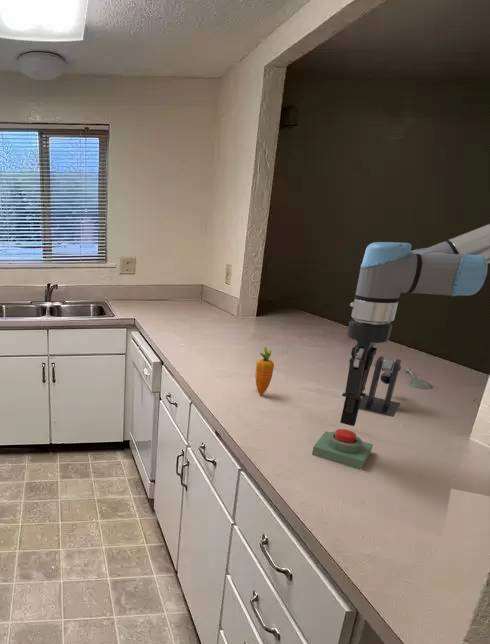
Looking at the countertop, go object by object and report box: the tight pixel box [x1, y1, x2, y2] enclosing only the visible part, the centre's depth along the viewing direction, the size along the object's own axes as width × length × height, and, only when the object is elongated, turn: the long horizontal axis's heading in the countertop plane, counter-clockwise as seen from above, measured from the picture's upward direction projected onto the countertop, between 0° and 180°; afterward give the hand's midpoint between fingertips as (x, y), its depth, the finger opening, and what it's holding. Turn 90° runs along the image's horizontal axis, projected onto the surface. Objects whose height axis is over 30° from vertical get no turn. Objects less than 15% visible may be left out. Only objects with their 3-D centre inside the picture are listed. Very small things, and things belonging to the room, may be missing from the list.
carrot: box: [255, 346, 275, 396], centre depth 131 cm, size 5×5×15 cm
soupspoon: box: [404, 366, 433, 390], centre depth 143 cm, size 22×3×7 cm
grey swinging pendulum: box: [380, 359, 395, 385], centre depth 123 cm, size 13×4×4 cm
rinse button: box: [335, 428, 357, 443], centre depth 99 cm, size 4×4×2 cm
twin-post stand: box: [359, 355, 402, 418], centre depth 120 cm, size 12×9×15 cm
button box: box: [311, 430, 374, 470], centre depth 100 cm, size 10×10×4 cm
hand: (347, 423), depth 98 cm, fingers closed
